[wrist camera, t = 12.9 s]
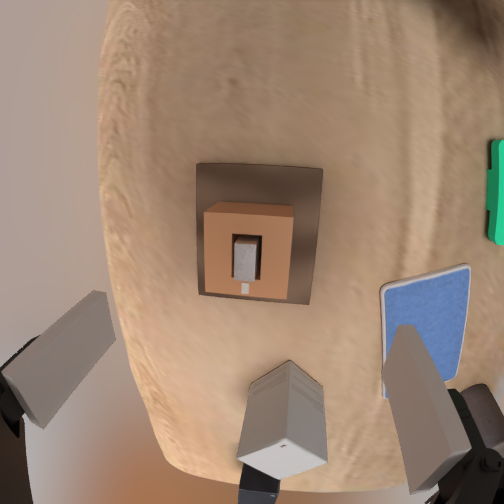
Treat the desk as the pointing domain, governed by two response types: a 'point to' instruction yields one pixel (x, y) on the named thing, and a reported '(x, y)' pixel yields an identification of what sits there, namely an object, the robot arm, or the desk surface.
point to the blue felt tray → (429, 314)
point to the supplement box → (284, 423)
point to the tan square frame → (252, 223)
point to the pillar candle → (486, 416)
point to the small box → (257, 487)
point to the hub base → (263, 192)
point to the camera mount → (496, 193)
